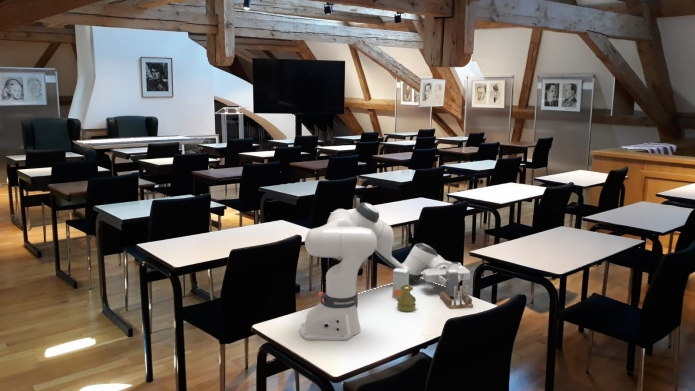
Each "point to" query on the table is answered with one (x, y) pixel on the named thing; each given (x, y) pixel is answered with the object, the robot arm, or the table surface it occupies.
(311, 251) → the robot arm
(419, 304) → the table surface
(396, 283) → the skincare box
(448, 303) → the cradle
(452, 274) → the plug
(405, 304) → the brass weight
